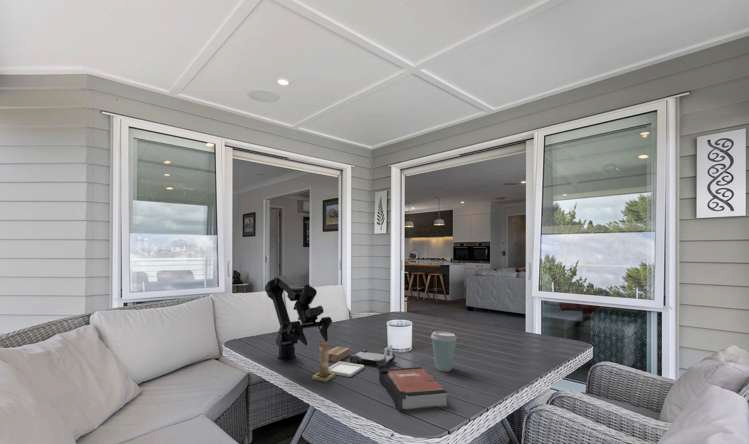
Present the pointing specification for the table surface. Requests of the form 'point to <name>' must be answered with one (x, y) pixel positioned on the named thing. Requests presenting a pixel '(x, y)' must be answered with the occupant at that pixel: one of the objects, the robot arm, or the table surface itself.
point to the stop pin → (324, 360)
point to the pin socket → (317, 377)
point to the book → (412, 388)
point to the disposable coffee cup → (443, 349)
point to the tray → (345, 369)
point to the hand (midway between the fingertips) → (317, 343)
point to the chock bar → (338, 354)
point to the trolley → (374, 357)
